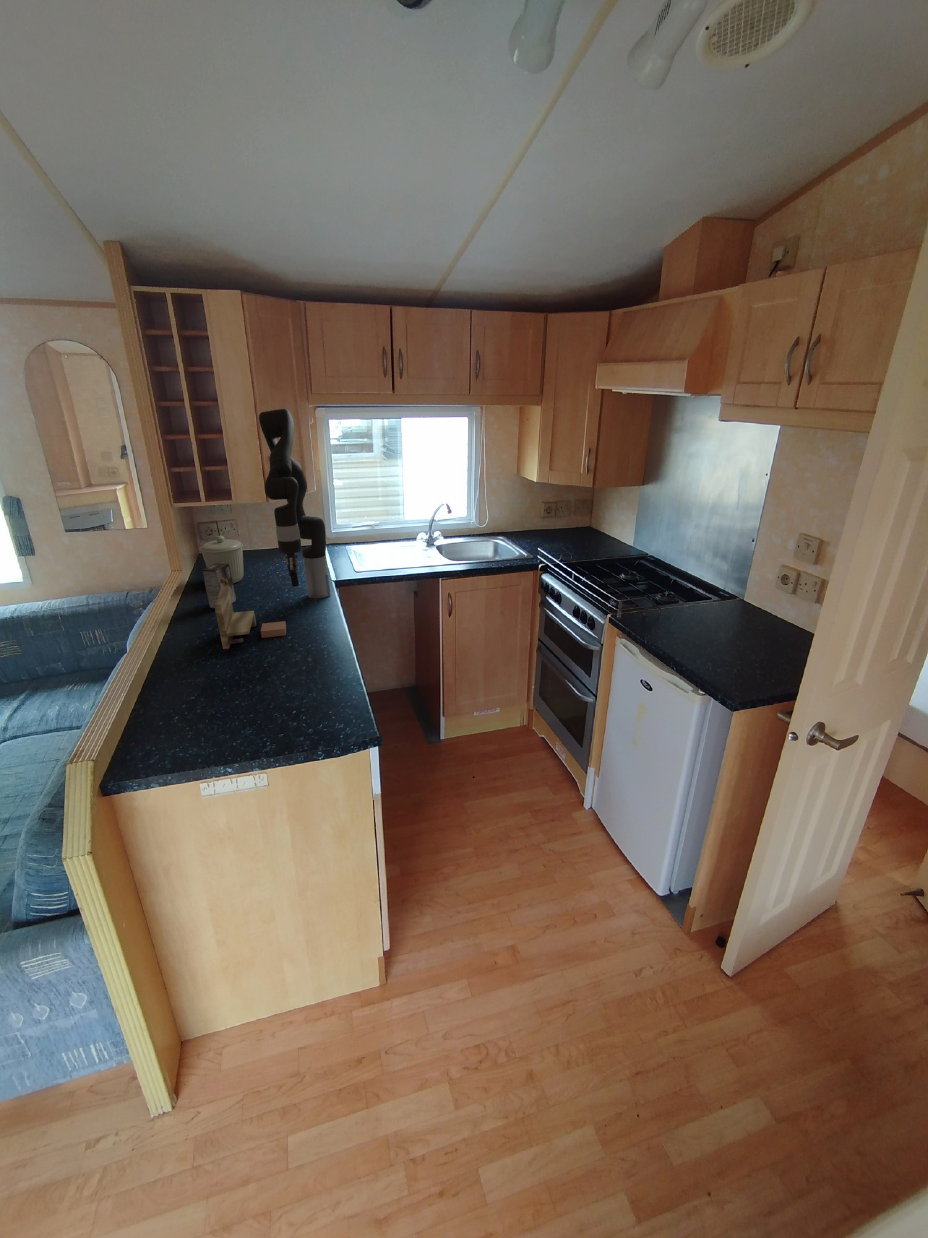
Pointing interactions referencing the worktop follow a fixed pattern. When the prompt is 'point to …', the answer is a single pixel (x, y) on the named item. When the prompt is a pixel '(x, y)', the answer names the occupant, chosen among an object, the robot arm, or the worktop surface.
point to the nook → (231, 619)
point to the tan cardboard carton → (273, 629)
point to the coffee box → (218, 581)
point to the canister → (225, 555)
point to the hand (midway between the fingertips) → (295, 585)
